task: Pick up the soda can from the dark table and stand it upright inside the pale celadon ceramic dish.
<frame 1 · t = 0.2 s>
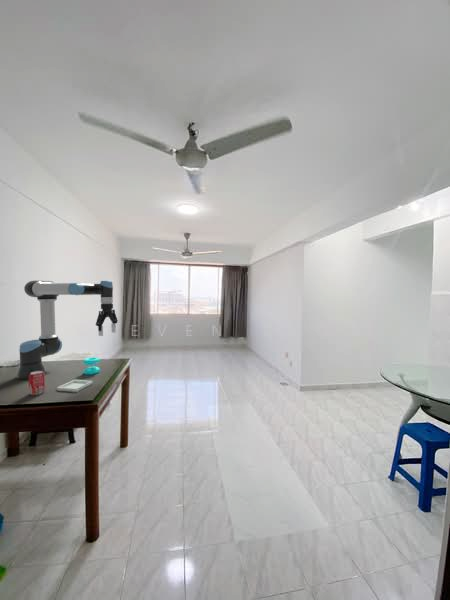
hand: (107, 334, 172), 28 cm above the table, fingers open, 13 cm apart
soda can: (37, 393, 140), on the table
donuts: (91, 373, 176), on the table
dish: (75, 387, 150), on the table
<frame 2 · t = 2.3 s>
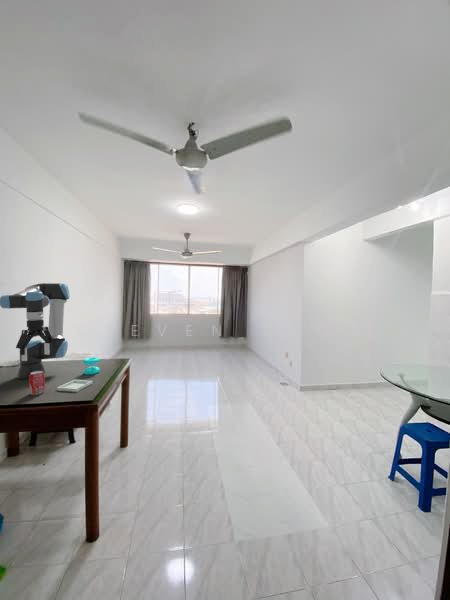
hand: (36, 357, 140), 20 cm above the table, fingers open, 13 cm apart
nothing on the table moved.
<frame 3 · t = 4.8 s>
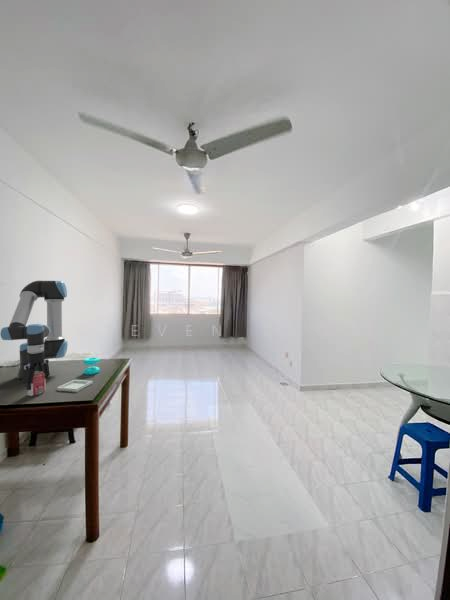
hand: (37, 392, 140), 1 cm above the table, fingers closed on soda can, 7 cm apart
soda can: (37, 393, 140), on the table, touching gripper
everything else where it was.
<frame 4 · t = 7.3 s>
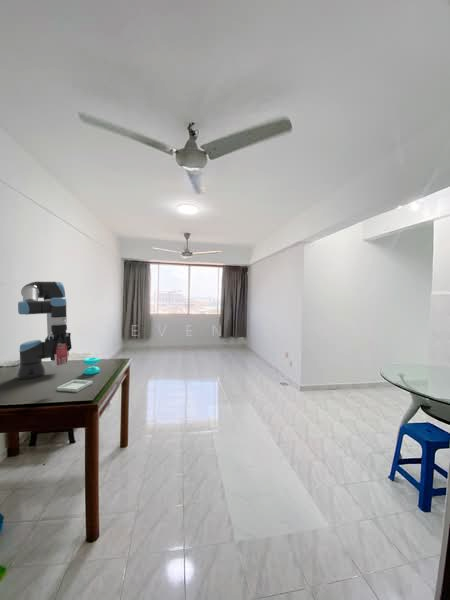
hand: (60, 363, 145), 15 cm above the table, fingers closed on soda can, 7 cm apart
soda can: (60, 365, 145), point 15 cm above the table, touching gripper
everything else where it was.
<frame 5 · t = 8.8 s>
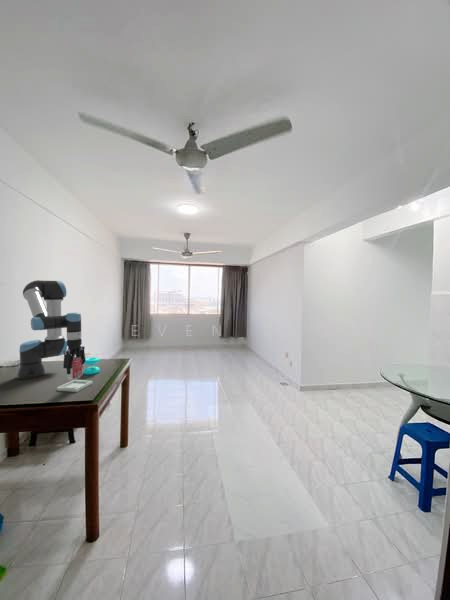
hand: (75, 376, 149), 6 cm above the table, fingers closed on soda can, 7 cm apart
soda can: (75, 378, 149), point 5 cm above the table, touching gripper
everything else where it was.
when the fingers open (2 cm above the table, at t = 9.9 s): soda can drops 1 cm, resting on dish.
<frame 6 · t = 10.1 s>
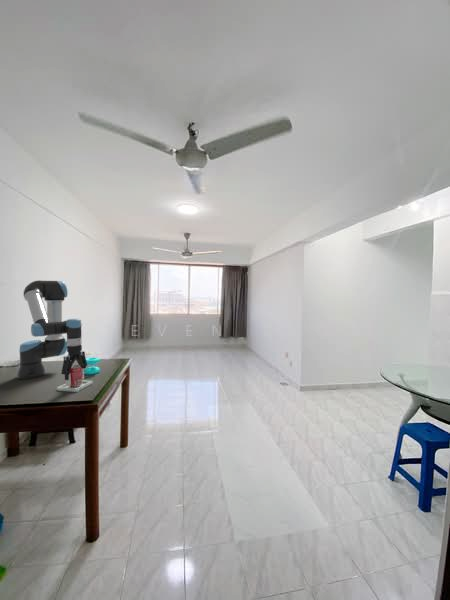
hand: (75, 381, 150), 3 cm above the table, fingers open, 10 cm apart
soda can: (75, 386, 150), resting on dish
everything else where it was.
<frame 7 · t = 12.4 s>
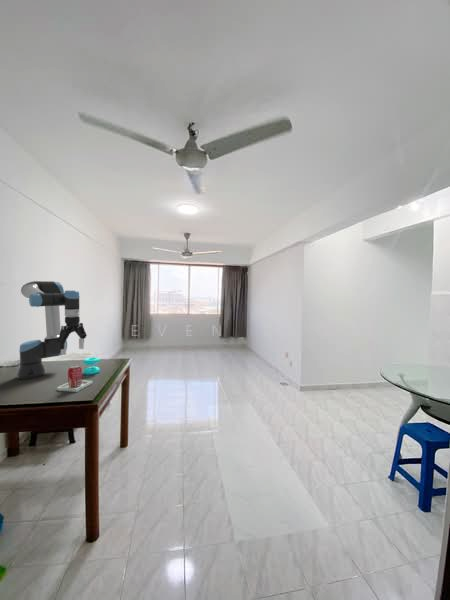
hand: (72, 351, 150), 21 cm above the table, fingers open, 13 cm apart
nothing on the table moved.
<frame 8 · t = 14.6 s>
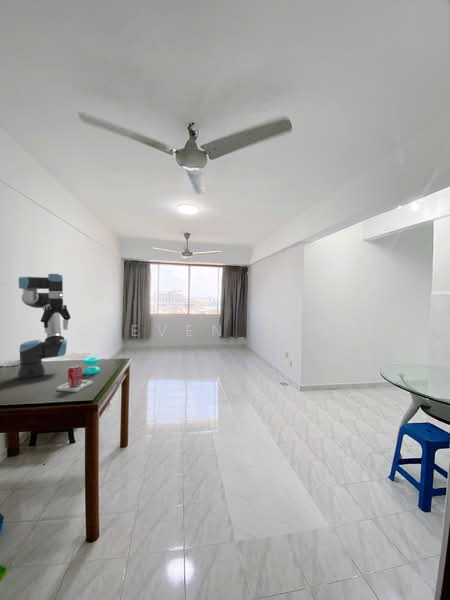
hand: (56, 331, 160), 32 cm above the table, fingers open, 13 cm apart
nothing on the table moved.
at the end: soda can 0.1 cm off-centre on the dish, point 0.3 cm above the dish's base; soda can tilted 0°; the gripper is holding nothing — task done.
